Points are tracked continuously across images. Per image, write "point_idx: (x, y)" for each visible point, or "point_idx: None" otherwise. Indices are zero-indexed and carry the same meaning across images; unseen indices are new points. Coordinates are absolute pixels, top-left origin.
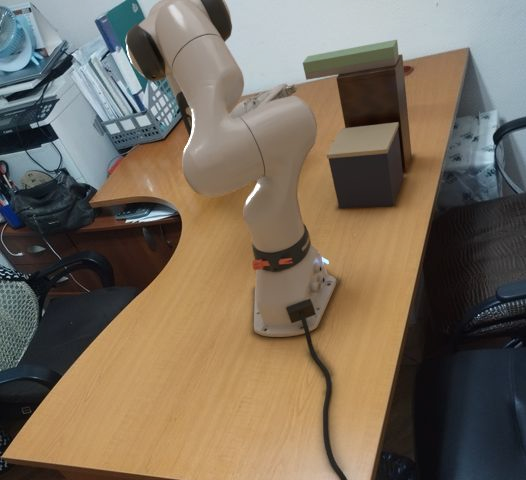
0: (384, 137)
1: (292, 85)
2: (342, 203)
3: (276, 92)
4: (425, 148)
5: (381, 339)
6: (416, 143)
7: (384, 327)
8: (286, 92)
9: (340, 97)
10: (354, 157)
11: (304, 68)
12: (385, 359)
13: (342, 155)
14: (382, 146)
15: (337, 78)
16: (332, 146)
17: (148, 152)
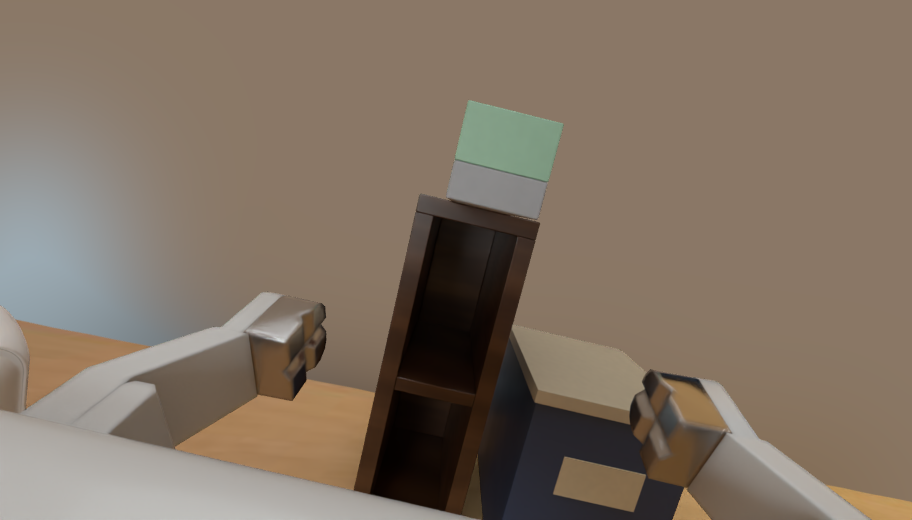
0: (576, 344)
1: (296, 299)
2: None
3: (226, 461)
4: (356, 407)
5: (877, 507)
6: (320, 415)
7: (856, 502)
8: (163, 424)
9: (521, 289)
10: None
11: (553, 156)
12: (894, 503)
13: None
14: (613, 351)
15: (538, 223)
16: None
17: None
